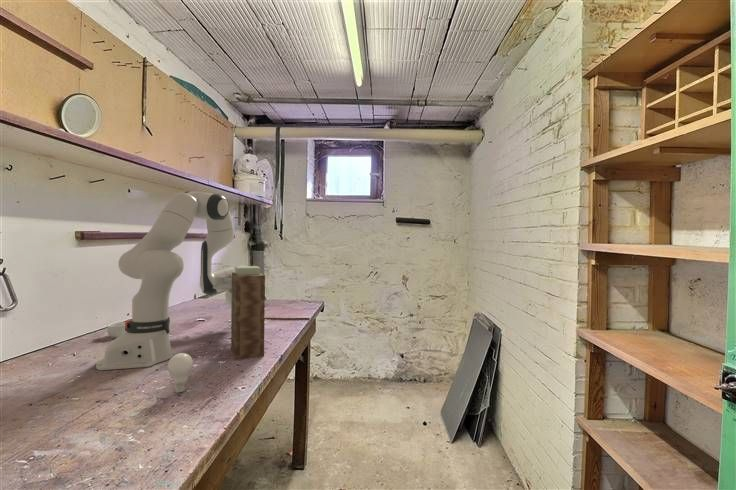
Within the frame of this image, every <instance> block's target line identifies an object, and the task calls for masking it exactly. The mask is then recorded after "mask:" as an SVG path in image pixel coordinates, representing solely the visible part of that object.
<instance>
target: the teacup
mask: <svg viewBox="0 0 736 490" xmlns="http://www.w3.org/2000/svg"><path fill="white" fill-rule="evenodd" d="M125 322H126V321H120V322H119V321H118V322H113V323H109V324H107V327H106V328H107V334H108V336H109V337H110V338H112V339H116V338H118V337H119V336H120V335H122V334H123V333H124V332H126V331H125Z"/></svg>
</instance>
